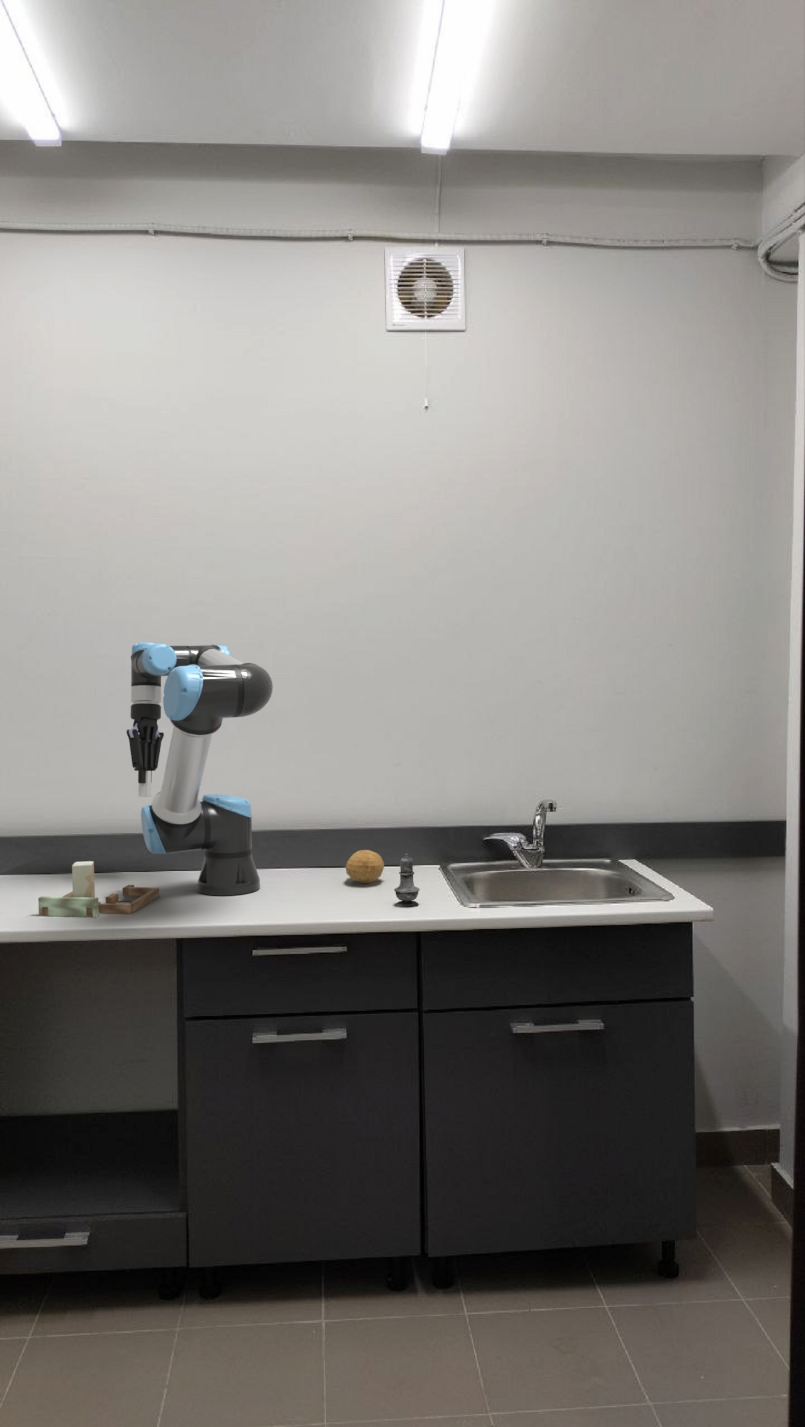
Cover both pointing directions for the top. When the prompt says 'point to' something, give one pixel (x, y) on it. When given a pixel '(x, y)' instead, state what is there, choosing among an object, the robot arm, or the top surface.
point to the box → (83, 879)
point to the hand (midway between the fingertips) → (144, 796)
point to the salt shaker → (406, 884)
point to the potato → (365, 866)
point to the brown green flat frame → (97, 903)
